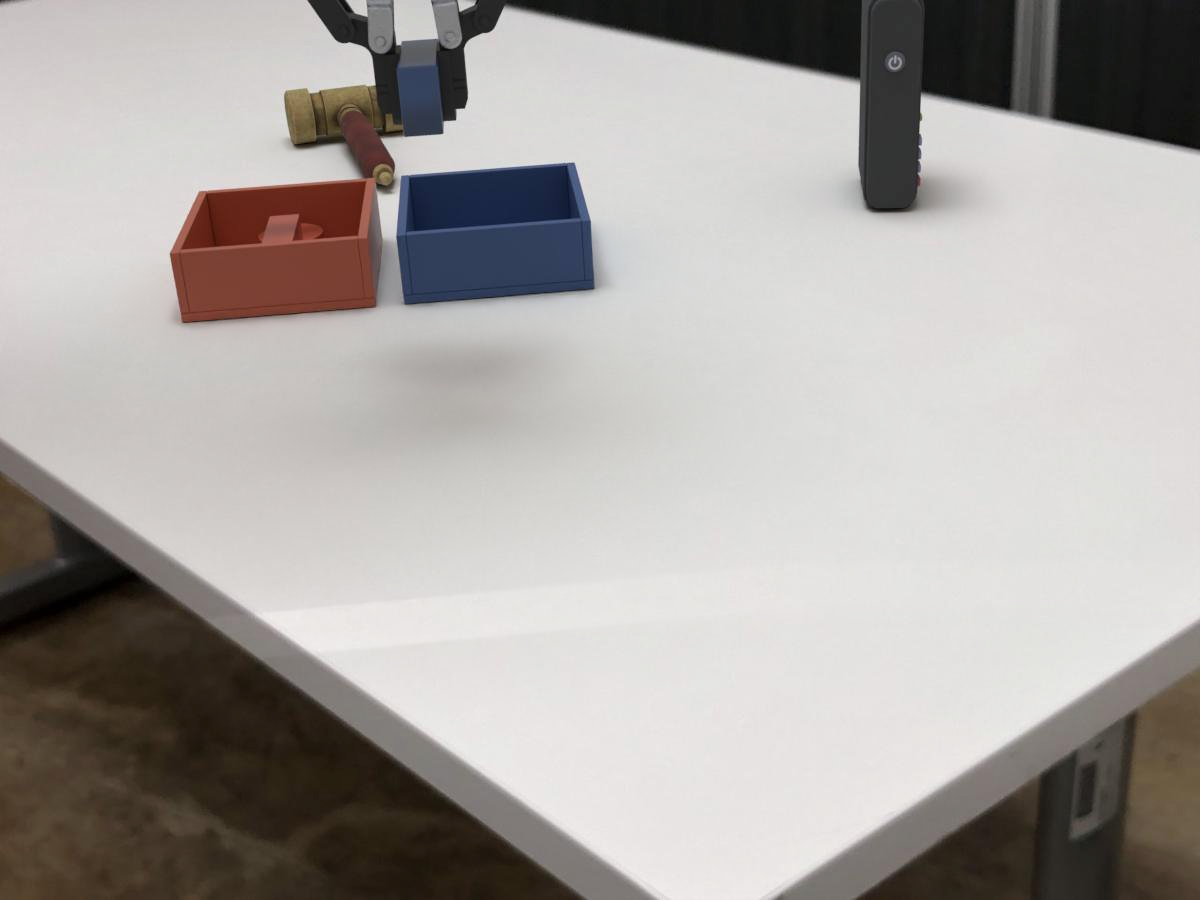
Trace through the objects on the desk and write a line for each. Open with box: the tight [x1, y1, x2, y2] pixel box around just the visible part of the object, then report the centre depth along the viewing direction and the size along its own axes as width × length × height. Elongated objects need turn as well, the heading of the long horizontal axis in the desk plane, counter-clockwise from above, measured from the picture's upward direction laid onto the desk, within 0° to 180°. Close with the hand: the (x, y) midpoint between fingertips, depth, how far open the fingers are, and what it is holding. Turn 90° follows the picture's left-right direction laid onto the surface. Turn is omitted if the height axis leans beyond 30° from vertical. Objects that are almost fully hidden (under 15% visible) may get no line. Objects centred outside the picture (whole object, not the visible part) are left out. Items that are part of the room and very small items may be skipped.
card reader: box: [857, 0, 926, 209], centre depth 112 cm, size 9×4×15 cm, turn 174°
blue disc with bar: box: [397, 38, 445, 138], centre depth 83 cm, size 10×4×4 cm, turn 4°
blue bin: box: [395, 161, 596, 305], centre depth 105 cm, size 12×13×5 cm
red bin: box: [169, 177, 384, 323], centre depth 104 cm, size 12×13×5 cm
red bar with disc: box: [258, 214, 324, 244], centre depth 104 cm, size 10×4×4 cm, turn 5°
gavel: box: [283, 84, 403, 186], centre depth 130 cm, size 21×5×10 cm
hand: (424, 118), depth 82 cm, fingers closed on blue disc with bar, 2 cm apart
